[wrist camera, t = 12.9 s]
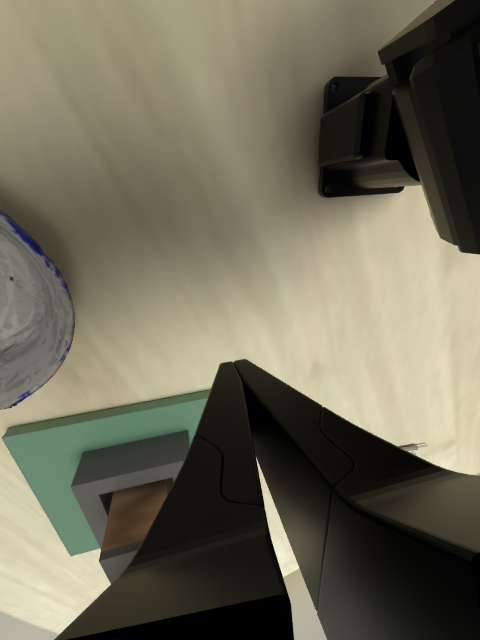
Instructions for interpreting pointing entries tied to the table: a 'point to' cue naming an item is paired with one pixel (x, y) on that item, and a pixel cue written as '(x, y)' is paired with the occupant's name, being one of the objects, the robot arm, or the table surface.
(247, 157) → the table surface
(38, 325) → the bowl
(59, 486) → the board
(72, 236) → the table surface
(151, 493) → the plug
